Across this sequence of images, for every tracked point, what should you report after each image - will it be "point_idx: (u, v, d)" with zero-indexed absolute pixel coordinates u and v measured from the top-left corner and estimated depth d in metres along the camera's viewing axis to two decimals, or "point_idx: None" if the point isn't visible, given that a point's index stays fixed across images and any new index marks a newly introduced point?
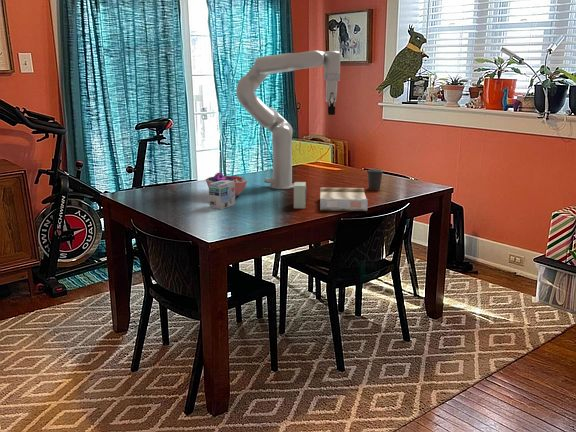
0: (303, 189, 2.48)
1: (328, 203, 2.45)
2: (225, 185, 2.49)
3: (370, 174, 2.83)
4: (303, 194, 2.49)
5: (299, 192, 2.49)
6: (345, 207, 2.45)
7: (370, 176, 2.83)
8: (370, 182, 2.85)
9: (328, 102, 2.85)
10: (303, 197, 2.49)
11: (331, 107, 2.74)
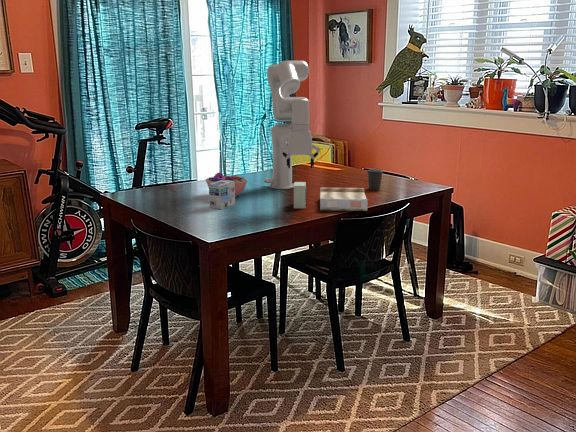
0: (303, 189, 2.48)
1: (328, 203, 2.45)
2: (225, 185, 2.49)
3: (370, 174, 2.83)
4: (303, 194, 2.49)
5: (299, 192, 2.49)
6: (345, 207, 2.45)
7: (370, 176, 2.83)
8: (370, 182, 2.85)
9: (286, 156, 2.47)
10: (303, 197, 2.49)
11: (313, 159, 2.48)
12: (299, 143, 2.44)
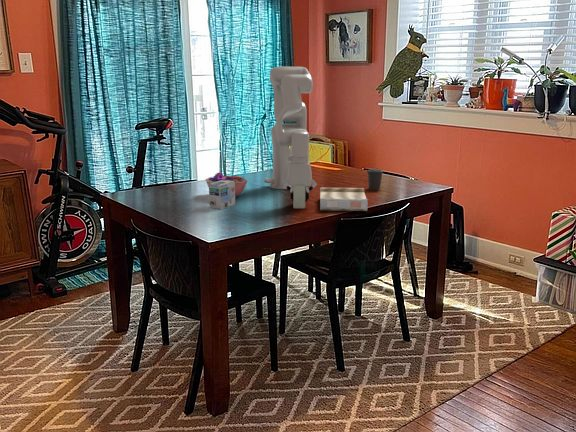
0: (303, 189, 2.48)
1: (328, 203, 2.45)
2: (225, 185, 2.49)
3: (370, 174, 2.83)
4: (303, 194, 2.49)
5: (298, 192, 2.49)
6: (345, 207, 2.45)
7: (370, 176, 2.83)
8: (370, 182, 2.85)
9: (290, 190, 2.52)
10: (303, 197, 2.49)
11: (308, 193, 2.53)
12: (299, 175, 2.48)
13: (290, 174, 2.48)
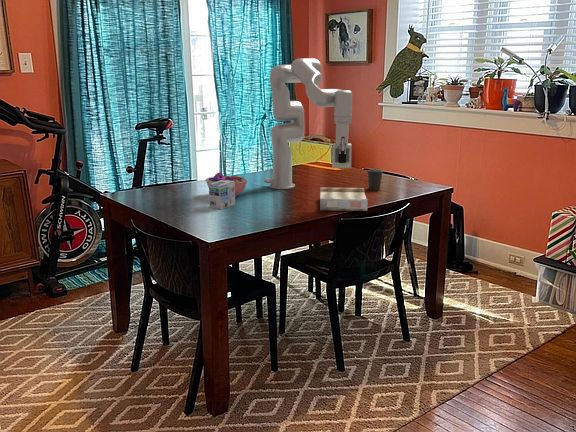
0: None
1: (328, 203, 2.45)
2: (225, 185, 2.49)
3: (370, 174, 2.83)
4: None
5: None
6: (345, 207, 2.45)
7: (370, 176, 2.83)
8: (370, 182, 2.85)
9: None
10: (332, 156, 2.49)
11: (342, 155, 2.46)
12: None
13: None
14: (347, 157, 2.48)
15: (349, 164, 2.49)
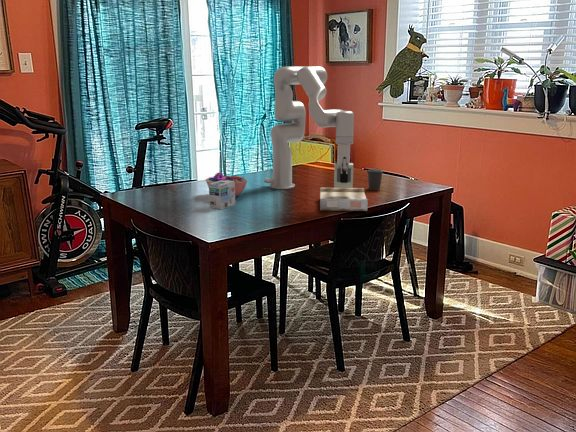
0: (334, 168, 2.51)
1: (328, 203, 2.45)
2: (225, 185, 2.49)
3: (370, 174, 2.83)
4: (334, 173, 2.51)
5: (334, 170, 2.53)
6: (345, 207, 2.45)
7: (370, 176, 2.83)
8: (370, 182, 2.85)
9: None
10: (334, 176, 2.52)
11: (343, 175, 2.49)
12: None
13: None
14: (349, 176, 2.50)
15: (351, 184, 2.51)
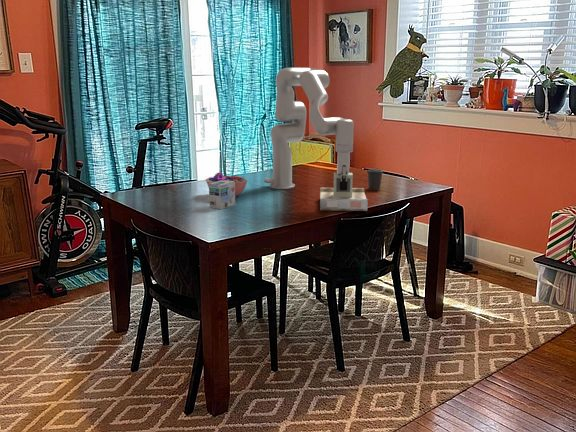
0: (334, 178, 2.52)
1: (328, 203, 2.45)
2: (225, 185, 2.49)
3: (370, 174, 2.83)
4: (334, 182, 2.53)
5: None
6: (345, 207, 2.45)
7: (370, 176, 2.83)
8: (370, 182, 2.85)
9: None
10: (334, 185, 2.53)
11: (343, 182, 2.49)
12: None
13: None
14: (348, 186, 2.52)
15: (350, 193, 2.53)
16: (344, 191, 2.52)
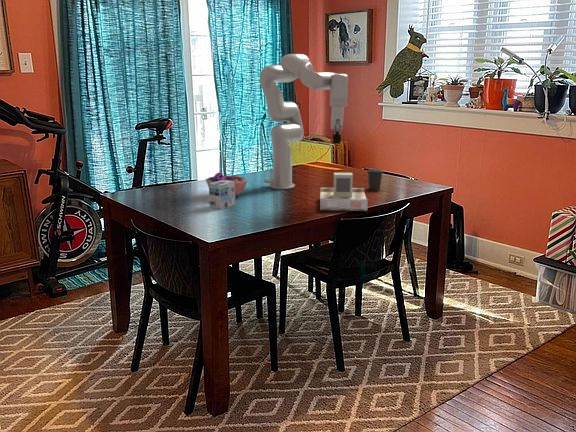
0: (334, 178, 2.52)
1: (328, 203, 2.45)
2: (225, 185, 2.49)
3: (370, 174, 2.83)
4: (334, 182, 2.53)
5: None
6: (345, 207, 2.45)
7: (370, 176, 2.83)
8: (370, 182, 2.85)
9: None
10: (334, 185, 2.53)
11: (336, 135, 2.51)
12: None
13: None
14: (348, 186, 2.52)
15: (350, 193, 2.53)
16: (344, 191, 2.52)
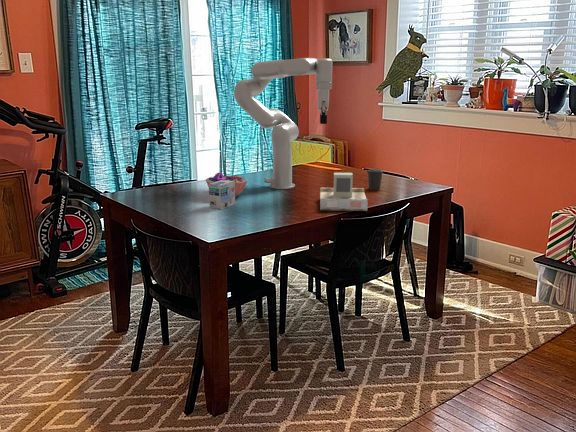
0: (334, 178, 2.52)
1: (328, 203, 2.45)
2: (225, 185, 2.49)
3: (370, 174, 2.83)
4: (334, 182, 2.53)
5: None
6: (345, 207, 2.45)
7: (370, 176, 2.83)
8: (370, 182, 2.85)
9: None
10: (334, 185, 2.53)
11: (323, 116, 2.68)
12: None
13: None
14: (348, 186, 2.52)
15: (350, 193, 2.53)
16: (344, 191, 2.52)
